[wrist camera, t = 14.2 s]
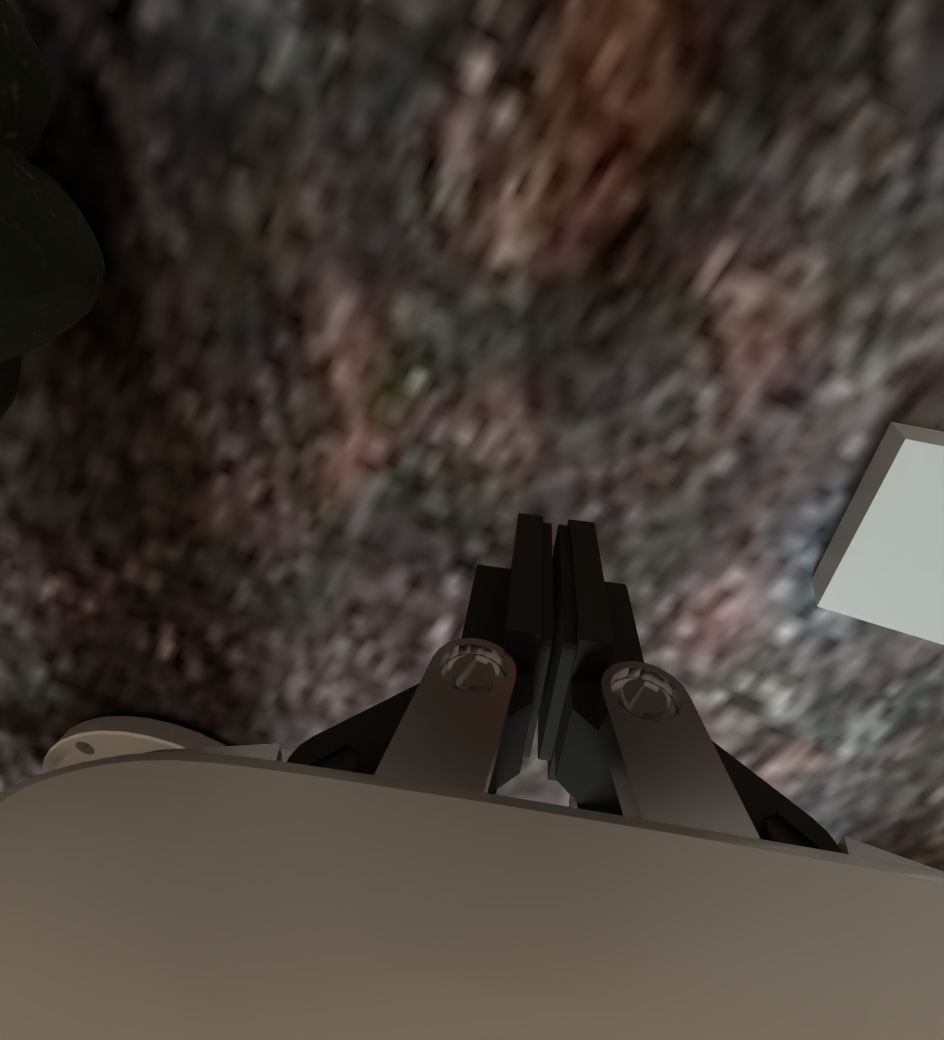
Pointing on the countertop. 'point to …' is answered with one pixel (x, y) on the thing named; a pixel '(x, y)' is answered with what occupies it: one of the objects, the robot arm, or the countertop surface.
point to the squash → (35, 218)
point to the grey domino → (892, 539)
